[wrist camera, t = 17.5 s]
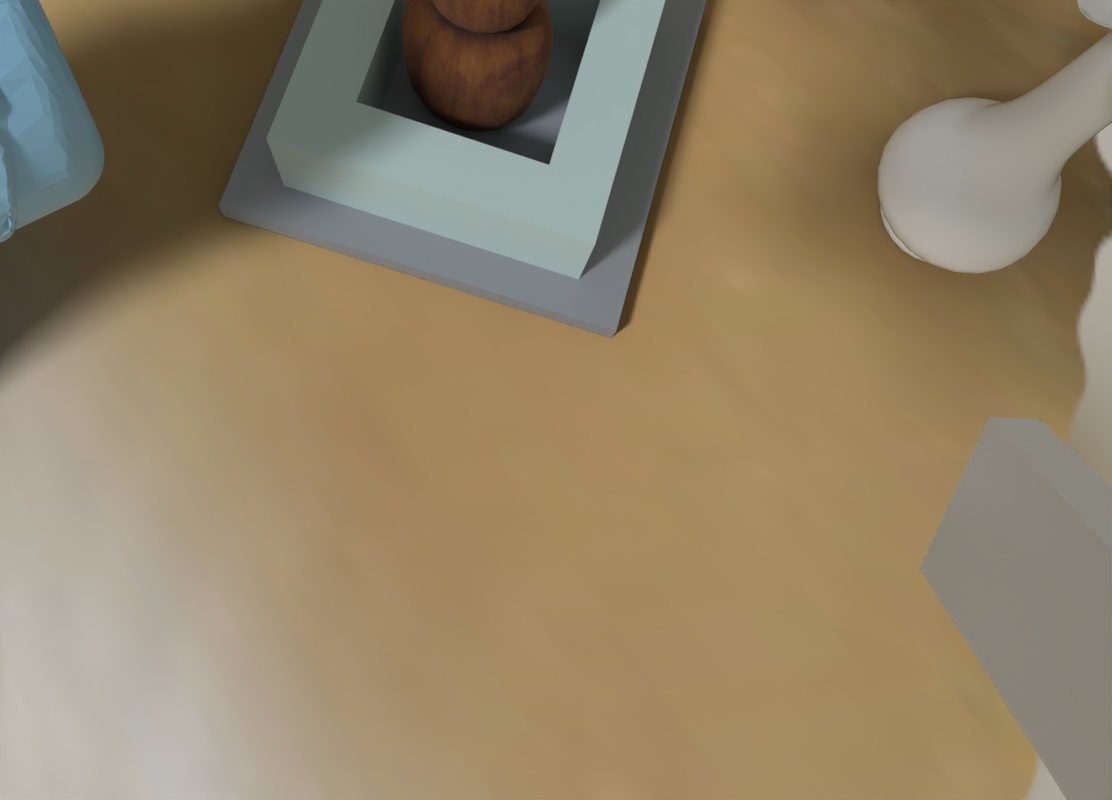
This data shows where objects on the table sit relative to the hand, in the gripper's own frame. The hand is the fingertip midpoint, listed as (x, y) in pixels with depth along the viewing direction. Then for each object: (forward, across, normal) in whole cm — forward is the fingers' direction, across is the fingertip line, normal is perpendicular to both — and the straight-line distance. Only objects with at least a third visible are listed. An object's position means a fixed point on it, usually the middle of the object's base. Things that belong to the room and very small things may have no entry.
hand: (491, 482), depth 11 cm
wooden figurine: (+37, 0, -4) cm, 37 cm away
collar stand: (+38, +1, -4) cm, 38 cm away
